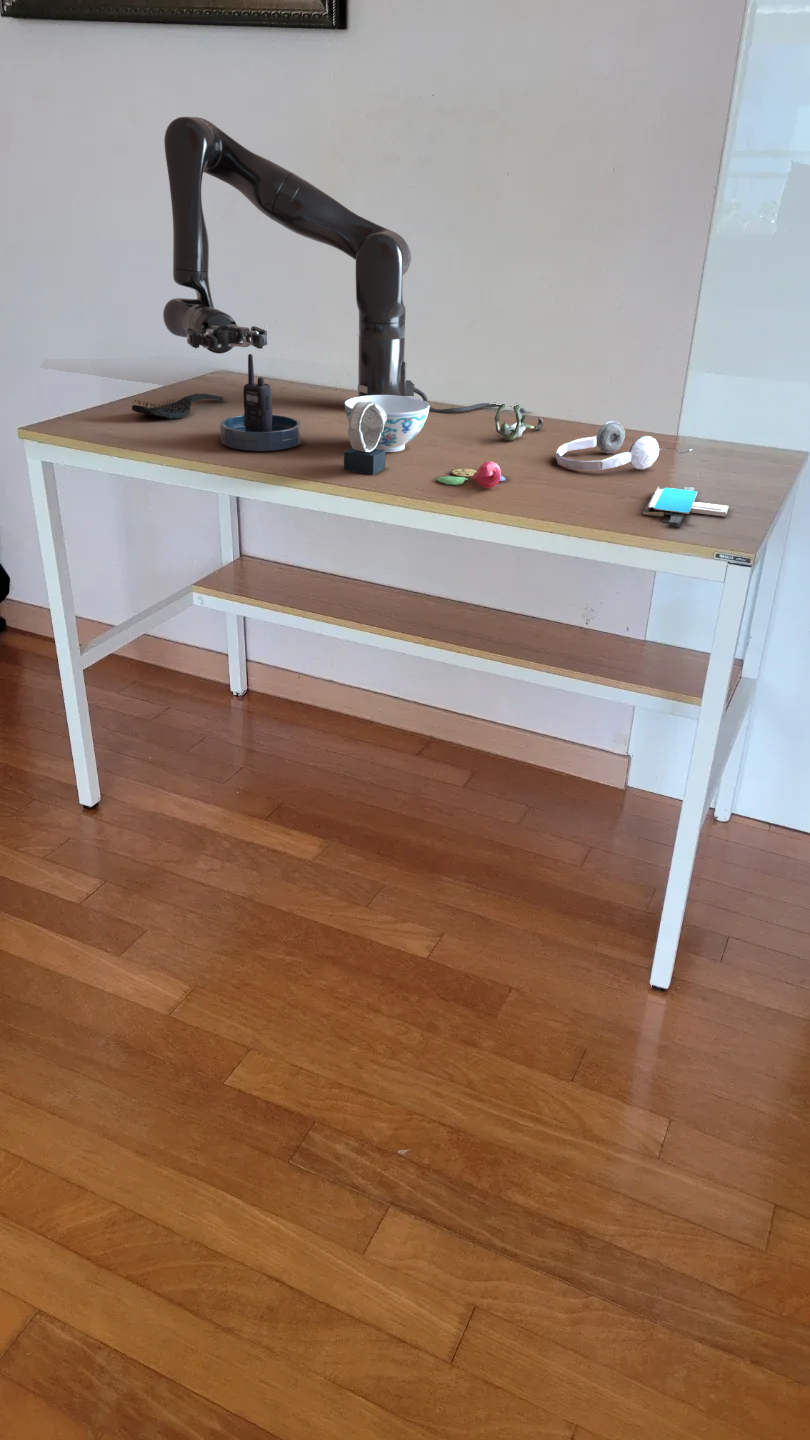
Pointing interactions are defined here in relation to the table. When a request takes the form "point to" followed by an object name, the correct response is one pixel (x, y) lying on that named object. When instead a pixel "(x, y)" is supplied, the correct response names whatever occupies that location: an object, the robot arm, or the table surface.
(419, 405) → the chinaware
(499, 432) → the zombie figurine
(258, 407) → the two-way radio
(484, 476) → the toy pieces
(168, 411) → the hairbrush
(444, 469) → the table surface
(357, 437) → the watch
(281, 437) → the bowl
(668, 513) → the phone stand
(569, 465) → the headphones
